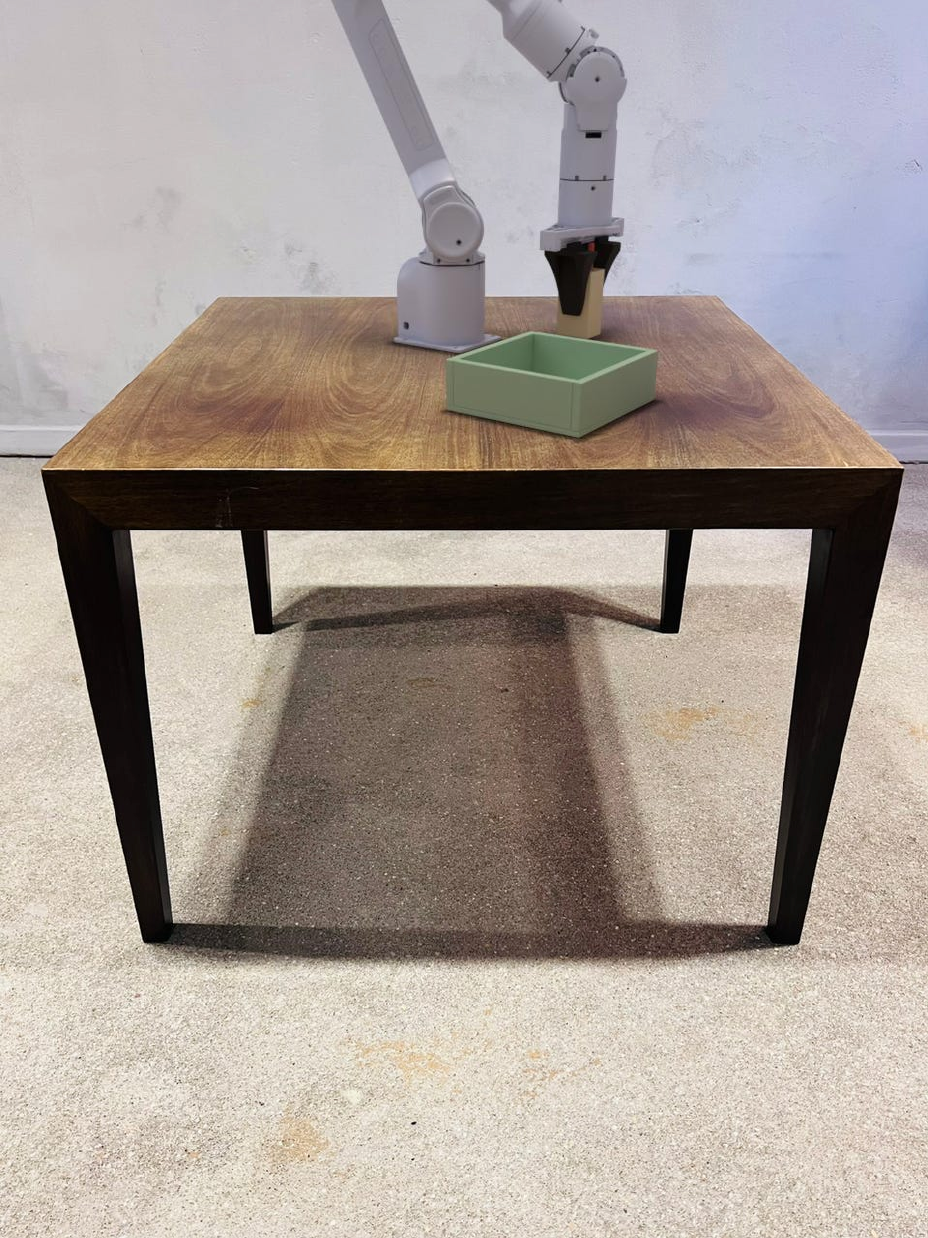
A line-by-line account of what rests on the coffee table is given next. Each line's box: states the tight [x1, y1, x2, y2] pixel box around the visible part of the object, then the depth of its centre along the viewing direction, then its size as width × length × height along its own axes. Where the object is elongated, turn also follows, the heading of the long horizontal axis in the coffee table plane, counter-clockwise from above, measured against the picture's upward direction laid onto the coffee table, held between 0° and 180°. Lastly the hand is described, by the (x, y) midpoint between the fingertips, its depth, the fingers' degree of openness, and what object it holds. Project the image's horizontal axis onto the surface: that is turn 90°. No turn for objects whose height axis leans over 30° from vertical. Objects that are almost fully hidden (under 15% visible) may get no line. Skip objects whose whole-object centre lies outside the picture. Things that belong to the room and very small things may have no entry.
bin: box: [445, 330, 659, 439], centre depth 87 cm, size 14×14×4 cm
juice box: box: [555, 242, 605, 340], centre depth 108 cm, size 4×3×10 cm
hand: (579, 312), depth 109 cm, fingers closed on juice box, 3 cm apart
